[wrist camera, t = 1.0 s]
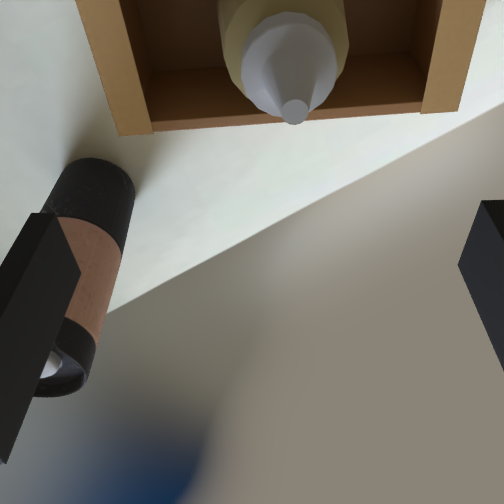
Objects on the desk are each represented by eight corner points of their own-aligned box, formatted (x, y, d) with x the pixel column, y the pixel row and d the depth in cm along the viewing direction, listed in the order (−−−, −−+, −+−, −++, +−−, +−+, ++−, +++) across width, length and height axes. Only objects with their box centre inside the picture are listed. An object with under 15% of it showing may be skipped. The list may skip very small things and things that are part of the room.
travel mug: (89, 226, 48) (24, 406, 34) (40, 170, 43) (-60, 354, 29) (153, 205, 46) (111, 387, 32) (109, 143, 41) (37, 327, 27)
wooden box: (86, -116, 28) (45, -92, 23) (464, -155, 27) (522, -140, 21) (138, 83, 37) (119, 136, 32) (424, 60, 36) (457, 111, 30)
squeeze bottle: (336, -95, 29) (406, -3, 16) (332, 37, 35) (382, 181, 22) (209, -80, 29) (180, 21, 17) (226, 48, 35) (214, 195, 22)
